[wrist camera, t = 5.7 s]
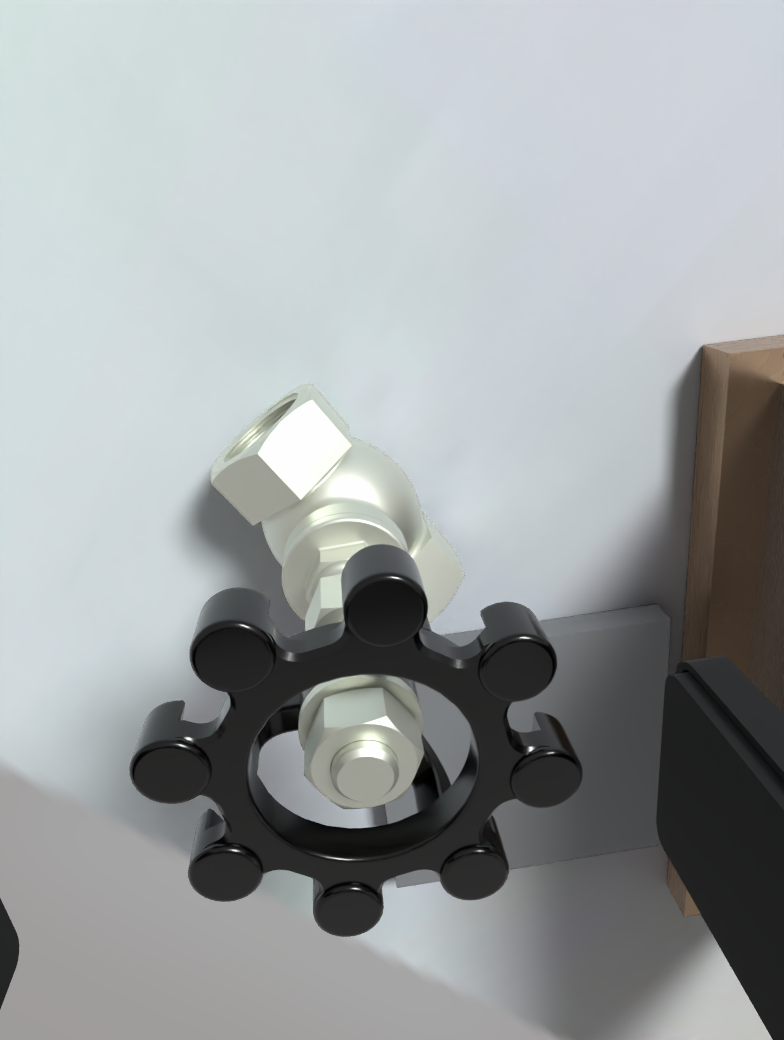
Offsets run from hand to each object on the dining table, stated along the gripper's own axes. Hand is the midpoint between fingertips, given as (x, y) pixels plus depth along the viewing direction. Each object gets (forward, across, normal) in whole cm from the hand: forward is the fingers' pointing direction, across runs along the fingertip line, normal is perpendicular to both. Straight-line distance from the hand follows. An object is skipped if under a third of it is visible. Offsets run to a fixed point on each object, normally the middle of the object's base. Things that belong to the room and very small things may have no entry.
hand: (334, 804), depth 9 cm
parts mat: (+12, -6, +11) cm, 18 cm away
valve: (+13, -1, 0) cm, 13 cm away
